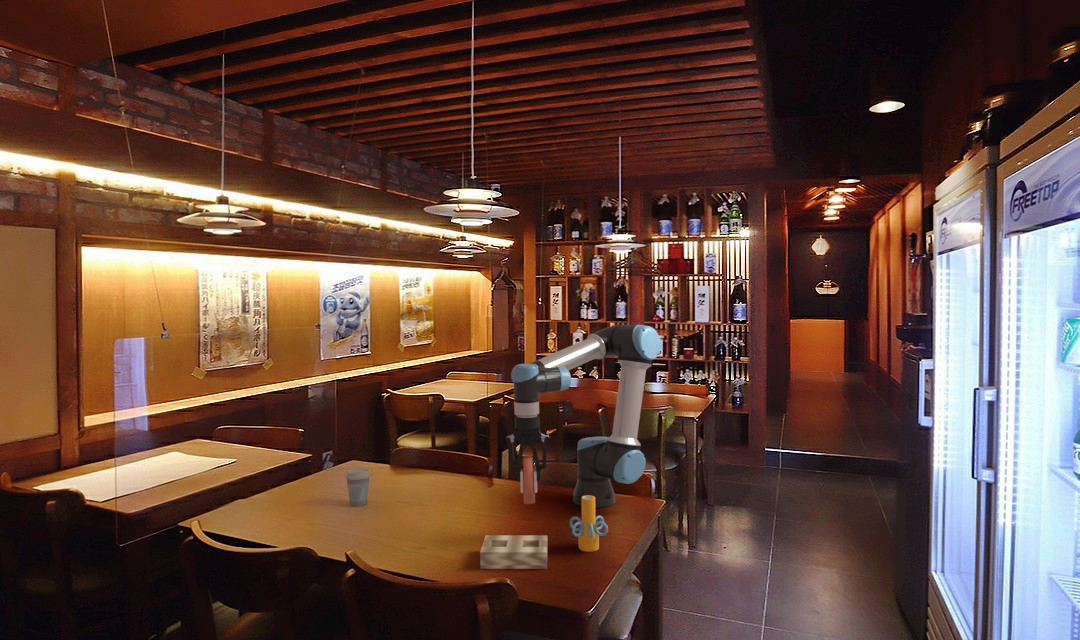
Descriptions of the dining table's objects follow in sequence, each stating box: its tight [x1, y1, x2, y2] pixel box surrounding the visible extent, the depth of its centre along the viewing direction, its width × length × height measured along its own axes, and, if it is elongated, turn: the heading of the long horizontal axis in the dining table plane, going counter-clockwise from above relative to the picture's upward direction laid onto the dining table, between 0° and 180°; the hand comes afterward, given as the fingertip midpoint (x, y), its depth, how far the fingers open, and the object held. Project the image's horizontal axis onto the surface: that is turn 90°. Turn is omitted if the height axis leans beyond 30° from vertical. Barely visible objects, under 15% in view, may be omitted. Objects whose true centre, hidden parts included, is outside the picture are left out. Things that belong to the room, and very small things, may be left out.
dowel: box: [522, 455, 536, 505], centre depth 185 cm, size 4×4×14 cm
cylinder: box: [569, 495, 609, 553], centre depth 178 cm, size 12×10×15 cm
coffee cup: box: [345, 467, 371, 508], centre depth 220 cm, size 8×8×12 cm
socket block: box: [479, 534, 549, 570], centre depth 171 cm, size 18×12×4 cm, turn 88°
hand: (529, 491), depth 186 cm, fingers closed on dowel, 3 cm apart
